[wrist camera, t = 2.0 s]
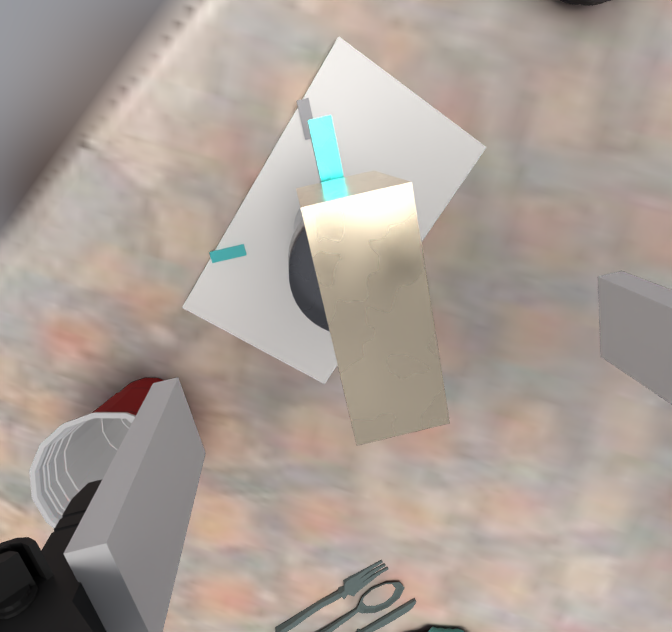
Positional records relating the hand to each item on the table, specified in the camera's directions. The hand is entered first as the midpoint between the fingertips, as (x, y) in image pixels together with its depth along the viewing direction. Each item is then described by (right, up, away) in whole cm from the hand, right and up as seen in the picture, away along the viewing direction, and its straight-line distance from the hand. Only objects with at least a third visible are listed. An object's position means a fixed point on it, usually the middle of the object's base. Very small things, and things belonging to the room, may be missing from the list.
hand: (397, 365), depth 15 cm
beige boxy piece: (-2, +6, +15) cm, 16 cm away
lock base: (-2, +9, +27) cm, 28 cm away
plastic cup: (-19, -6, +31) cm, 36 cm away
